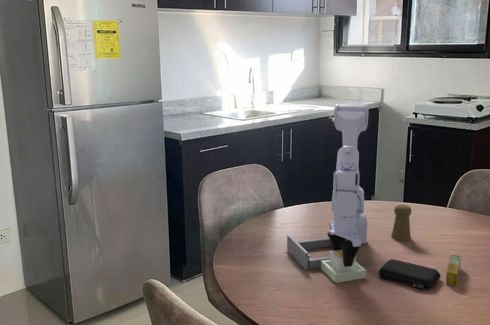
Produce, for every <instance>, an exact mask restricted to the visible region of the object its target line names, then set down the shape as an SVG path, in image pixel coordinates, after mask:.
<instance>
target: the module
mask: <svg viewBox="0 0 490 325" xmlns="http://www.w3.org/2000/svg"><path fill="white" fill-rule="evenodd" d="M329 252H330V253H329V254H330V256H329V257H330V267H331V268H332V269H333V270H334V271H335V272H336V273H341V272H348V271H354V270H355V264H356V262H357V255H356V256H355V258H354V262H353V265H352V266H348V267H345V266H344V263H343V252H342V250H335V251H333V250H330V251H329Z"/></svg>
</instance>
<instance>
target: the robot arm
mask: <svg viewBox="0 0 490 325" xmlns="http://www.w3.org/2000/svg"><path fill="white" fill-rule="evenodd" d="M369 109H370V108H369V105H368V104H365V105H364V104H339V103H336V105H334V110H333V124H334V128H335V130H336V131H339V132H341V134H342V136H341V137H342V138H341V139H342V147H340V148H339V149H338V150H337V157H336V166H335V168H336V169H335V171H334V172H333V180H332V181H333V183H332V184H333V185H332V188H333V190H332V195H331V196H332V197H331V211H332V213H333V214H334V215H333V220H329V221H328V228H329V229H330V230H329V231H328V232H327V236H328V237H327V238H329V239H330V241H331V244H332V246H331V248H332V251H335V250H342V252H343V263H344V266H345V267H348V266H352V265H353V262H354V258H355V256H356V257H357V253H358V251H359V249H361V247H362V246H363V244H368V243H369V241H368V240H367V238H368V235H367V234H368V219H367V216H366V214H365V213H364V209H365V208H364V207H365V191H364V189H363V188H362V187H361V186H360V169H359V161H360V152H359V150H358V141H359V140H358V138H359V136H360V134H361V132H365V131H367V128H368V125H369Z"/></svg>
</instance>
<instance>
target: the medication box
mask: <svg viewBox="0 0 490 325" xmlns="http://www.w3.org/2000/svg"><path fill="white" fill-rule="evenodd" d="M461 259H462V258H461V255H455V254H450V258H449V262H448V266H447V269H446V279H445V283H446V284H445V285H446V286H450V287H458V282H459V277H460V273H461V264H462V263H461Z"/></svg>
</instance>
